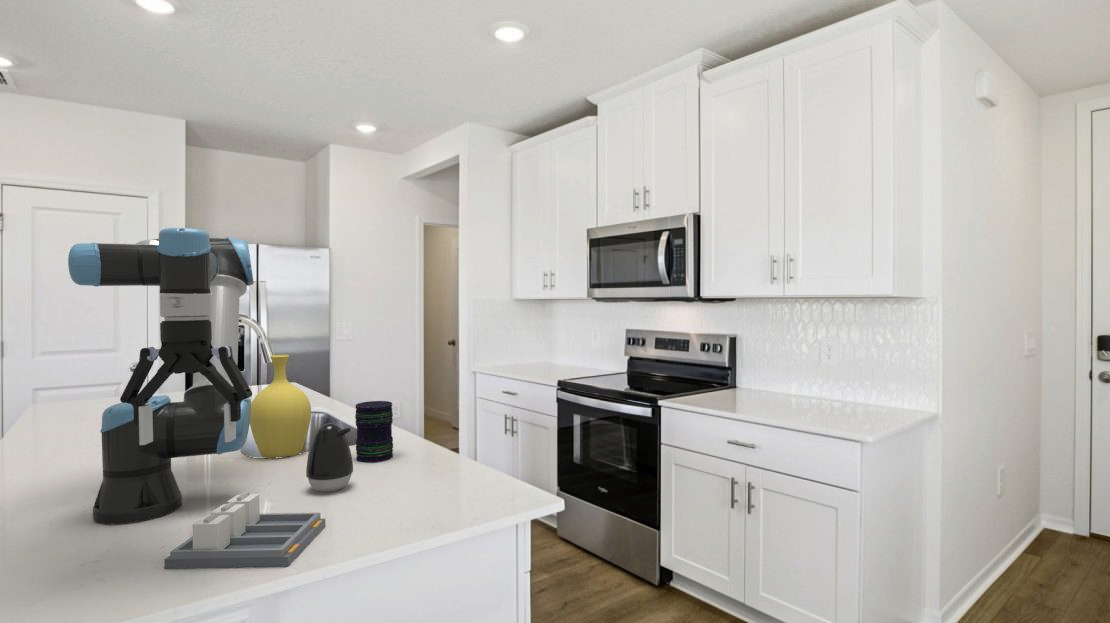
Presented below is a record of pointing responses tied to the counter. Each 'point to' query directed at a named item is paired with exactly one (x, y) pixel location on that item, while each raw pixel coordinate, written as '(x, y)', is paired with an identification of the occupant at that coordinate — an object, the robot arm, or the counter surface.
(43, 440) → the counter surface
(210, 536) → the tab
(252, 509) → the tab
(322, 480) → the pump dispenser
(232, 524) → the tab
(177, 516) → the counter surface
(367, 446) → the storage jar
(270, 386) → the vase
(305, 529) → the switch bank
